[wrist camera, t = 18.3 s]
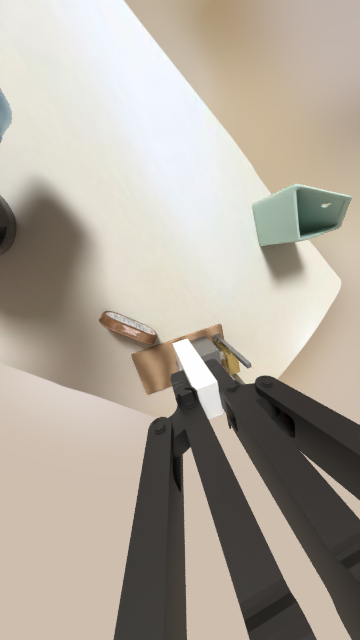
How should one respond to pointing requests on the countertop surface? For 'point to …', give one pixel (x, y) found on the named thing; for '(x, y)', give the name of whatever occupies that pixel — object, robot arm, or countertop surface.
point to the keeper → (229, 360)
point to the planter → (298, 214)
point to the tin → (128, 327)
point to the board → (164, 360)
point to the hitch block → (216, 351)
